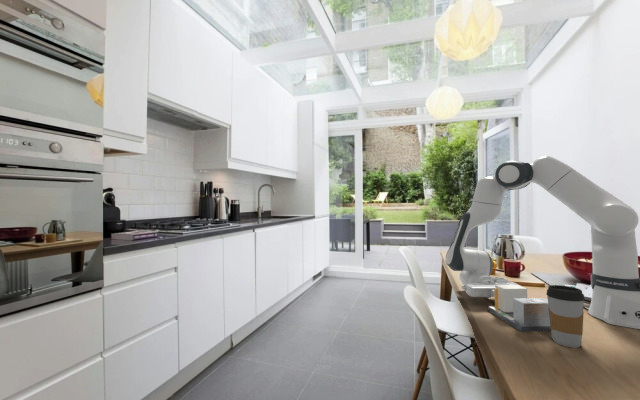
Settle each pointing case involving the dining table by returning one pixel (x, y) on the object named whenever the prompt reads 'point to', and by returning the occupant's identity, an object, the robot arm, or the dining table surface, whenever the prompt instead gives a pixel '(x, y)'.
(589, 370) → the dining table surface
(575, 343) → the coffee cup
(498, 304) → the cream rectangular block
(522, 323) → the base
